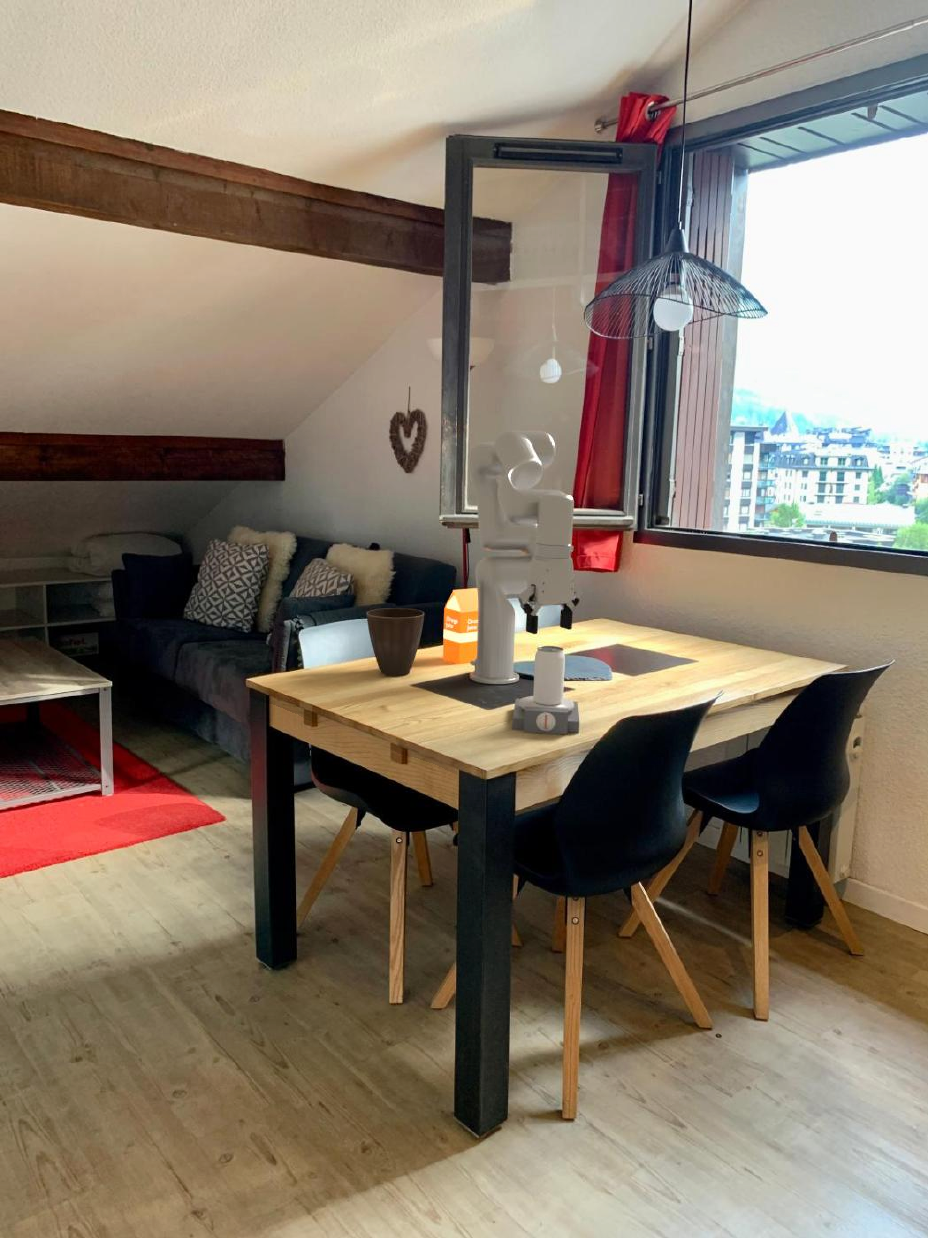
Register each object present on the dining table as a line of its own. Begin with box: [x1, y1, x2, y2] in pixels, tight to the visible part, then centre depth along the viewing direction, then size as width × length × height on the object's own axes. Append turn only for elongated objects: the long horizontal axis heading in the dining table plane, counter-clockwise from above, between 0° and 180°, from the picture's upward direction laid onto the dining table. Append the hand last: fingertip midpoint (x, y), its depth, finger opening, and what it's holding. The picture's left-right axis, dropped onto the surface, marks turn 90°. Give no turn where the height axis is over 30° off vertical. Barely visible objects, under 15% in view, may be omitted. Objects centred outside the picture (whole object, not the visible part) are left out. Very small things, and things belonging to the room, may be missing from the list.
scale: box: [511, 695, 580, 735], centre depth 206 cm, size 18×14×5 cm
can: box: [532, 645, 566, 706], centre depth 207 cm, size 6×6×12 cm
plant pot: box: [365, 607, 425, 677], centre depth 246 cm, size 15×15×16 cm
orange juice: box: [442, 587, 478, 665], centre depth 263 cm, size 8×9×20 cm
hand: (548, 630), depth 205 cm, fingers open, 9 cm apart
